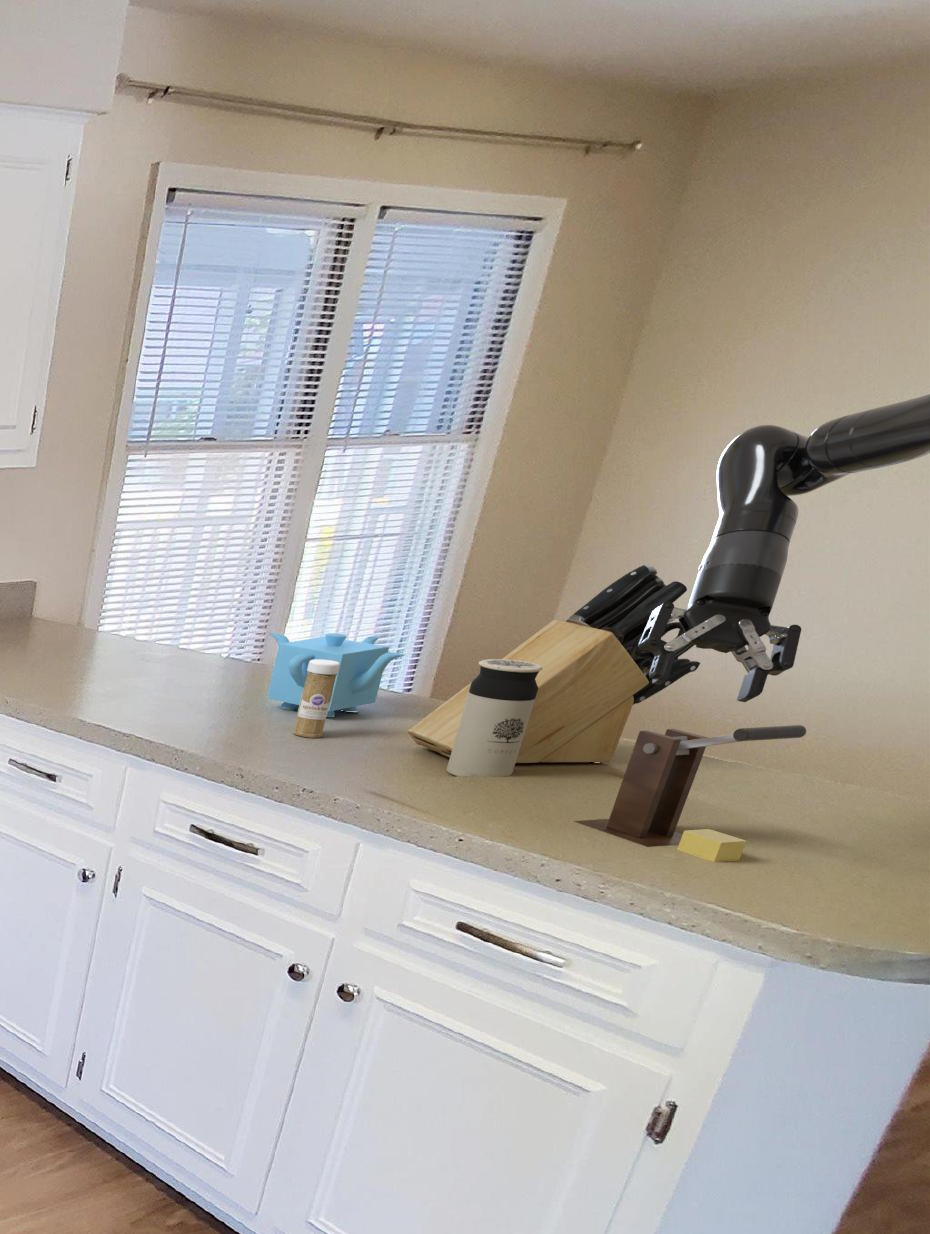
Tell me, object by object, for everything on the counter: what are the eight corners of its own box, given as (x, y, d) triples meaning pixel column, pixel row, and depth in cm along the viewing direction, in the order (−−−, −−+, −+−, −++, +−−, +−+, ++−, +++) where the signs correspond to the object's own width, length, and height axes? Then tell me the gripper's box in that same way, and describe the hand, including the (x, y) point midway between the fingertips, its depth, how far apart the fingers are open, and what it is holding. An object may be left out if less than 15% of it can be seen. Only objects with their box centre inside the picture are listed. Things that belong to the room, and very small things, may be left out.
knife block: (674, 764, 179) (745, 569, 168) (449, 767, 181) (505, 573, 169) (613, 745, 190) (676, 560, 178) (401, 747, 191) (450, 564, 180)
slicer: (706, 851, 146) (747, 742, 140) (644, 855, 145) (684, 746, 140) (628, 825, 155) (664, 722, 150) (569, 829, 154) (604, 725, 149)
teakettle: (275, 718, 211) (292, 641, 205) (253, 695, 227) (268, 623, 222) (393, 725, 205) (415, 645, 199) (362, 700, 221) (380, 626, 216)
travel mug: (438, 766, 181) (469, 657, 175) (498, 770, 178) (532, 659, 172) (456, 781, 174) (488, 667, 168) (518, 785, 172) (554, 670, 165)
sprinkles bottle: (298, 738, 198) (316, 663, 193) (288, 731, 202) (304, 658, 197) (327, 738, 197) (345, 664, 192) (316, 732, 201) (333, 658, 196)
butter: (757, 871, 139) (769, 843, 138) (708, 874, 139) (719, 846, 137) (701, 852, 146) (711, 825, 144) (653, 855, 145) (663, 828, 144)
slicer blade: (808, 740, 134) (805, 720, 134) (749, 743, 133) (746, 723, 133) (686, 756, 147) (683, 738, 147) (631, 759, 146) (629, 741, 146)
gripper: (685, 550, 142) (648, 666, 141) (833, 575, 136) (795, 695, 135) (652, 576, 149) (616, 686, 148) (791, 600, 143) (755, 715, 142)
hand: (702, 690), depth 141 cm, fingers open, 8 cm apart
